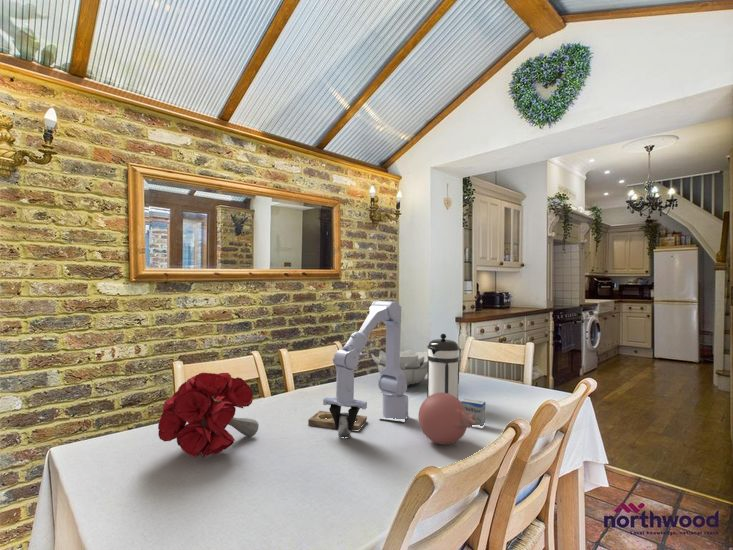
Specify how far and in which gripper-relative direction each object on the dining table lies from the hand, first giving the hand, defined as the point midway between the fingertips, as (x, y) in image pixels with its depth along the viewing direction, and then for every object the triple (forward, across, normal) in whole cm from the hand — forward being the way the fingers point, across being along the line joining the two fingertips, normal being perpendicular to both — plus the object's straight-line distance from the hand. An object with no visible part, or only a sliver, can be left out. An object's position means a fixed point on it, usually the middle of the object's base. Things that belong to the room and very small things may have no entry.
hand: (344, 428), depth 126 cm
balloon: (+3, +33, +4) cm, 33 cm away
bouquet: (+3, -33, -22) cm, 40 cm away
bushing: (+2, 0, 0) cm, 2 cm away
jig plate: (+2, -6, +10) cm, 12 cm away
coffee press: (+3, +28, +42) cm, 51 cm away
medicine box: (+3, +40, +24) cm, 47 cm away
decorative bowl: (+3, +6, +72) cm, 72 cm away
